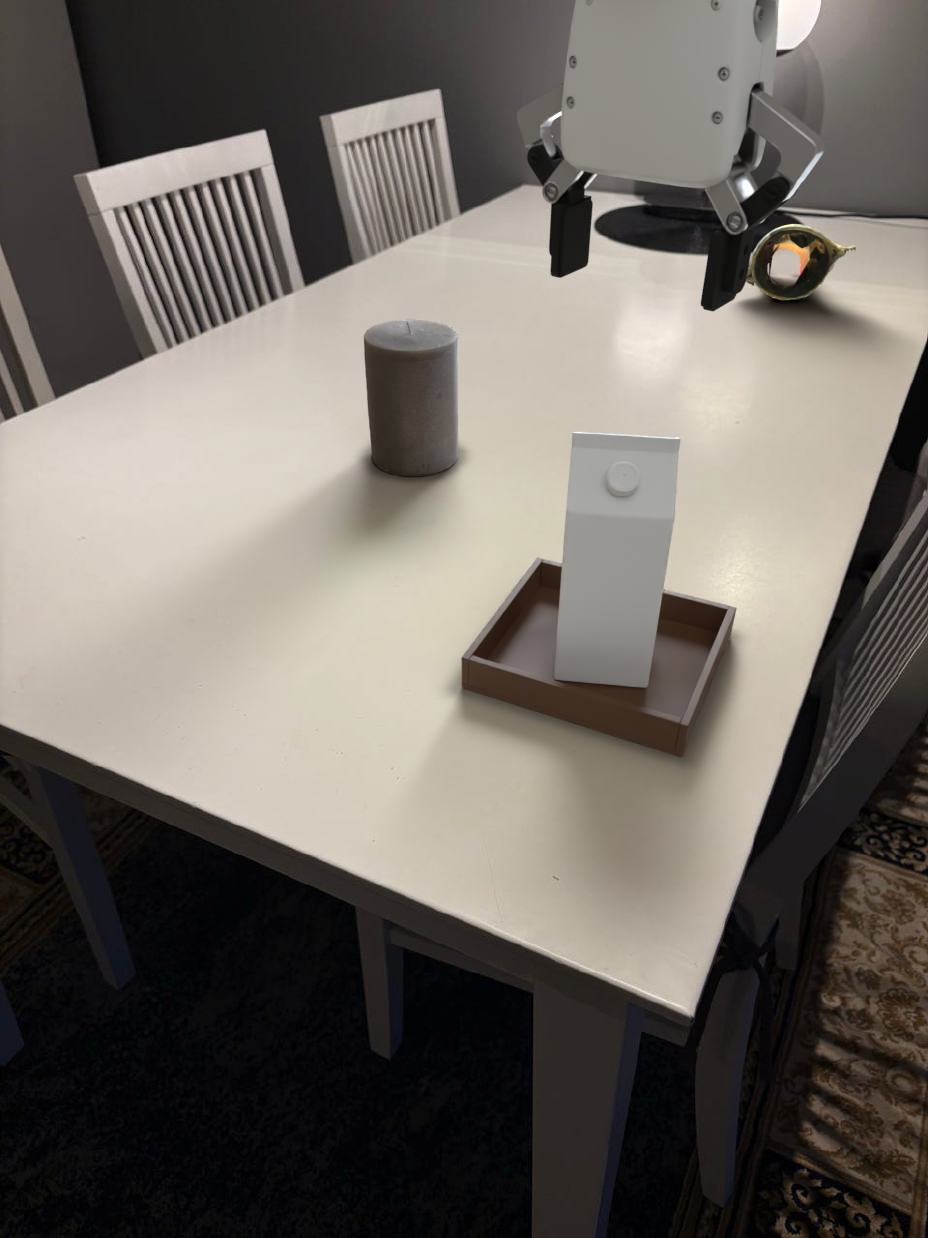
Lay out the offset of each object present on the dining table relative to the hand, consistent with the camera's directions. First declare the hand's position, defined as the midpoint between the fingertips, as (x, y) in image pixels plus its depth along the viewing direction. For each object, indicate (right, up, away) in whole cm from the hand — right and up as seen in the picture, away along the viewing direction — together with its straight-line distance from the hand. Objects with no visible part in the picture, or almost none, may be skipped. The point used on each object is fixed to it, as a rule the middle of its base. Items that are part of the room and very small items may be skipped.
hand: (640, 287), depth 52 cm
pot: (+42, +33, +94) cm, 108 cm away
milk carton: (+1, -22, +20) cm, 30 cm away
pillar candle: (-16, -1, +48) cm, 51 cm away
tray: (+1, -22, +20) cm, 30 cm away
